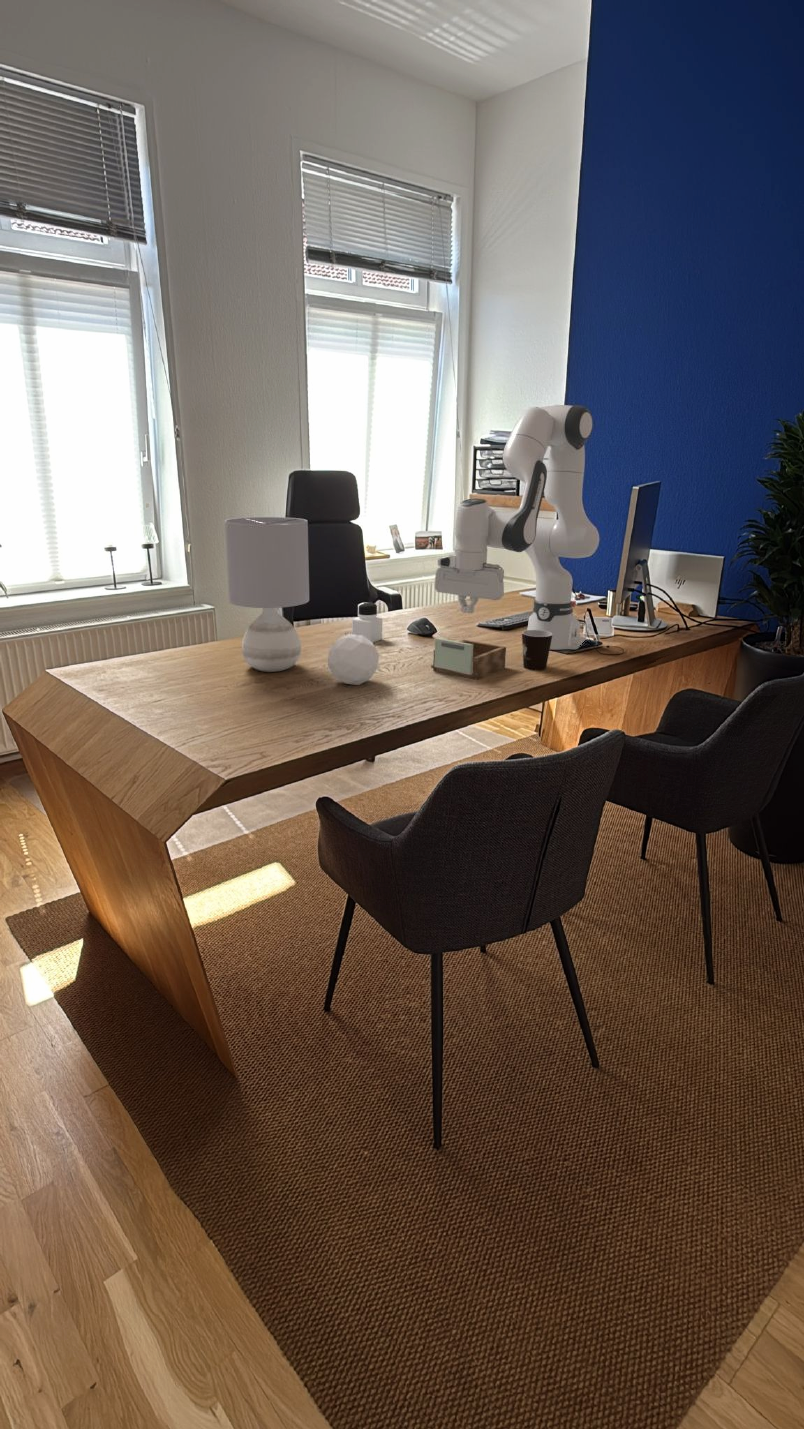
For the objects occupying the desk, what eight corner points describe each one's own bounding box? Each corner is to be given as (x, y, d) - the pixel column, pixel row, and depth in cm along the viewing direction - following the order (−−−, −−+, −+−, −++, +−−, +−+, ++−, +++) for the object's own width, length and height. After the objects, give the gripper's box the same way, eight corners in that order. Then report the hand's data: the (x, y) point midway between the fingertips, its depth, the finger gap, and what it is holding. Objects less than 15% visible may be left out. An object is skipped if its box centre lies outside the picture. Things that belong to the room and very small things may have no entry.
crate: (463, 659, 232) (464, 639, 230) (504, 667, 224) (506, 647, 223) (430, 671, 219) (431, 650, 217) (473, 680, 211) (474, 659, 209)
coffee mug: (549, 672, 220) (552, 637, 217) (518, 670, 222) (520, 635, 219) (550, 661, 231) (553, 628, 228) (521, 659, 233) (523, 626, 229)
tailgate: (436, 666, 218) (437, 637, 216) (472, 673, 212) (473, 644, 209) (433, 667, 217) (434, 638, 215) (469, 674, 211) (470, 645, 208)
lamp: (326, 667, 221) (324, 521, 208) (266, 683, 206) (259, 526, 193) (277, 654, 235) (272, 515, 222) (217, 667, 220) (207, 519, 206)
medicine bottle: (382, 639, 255) (382, 602, 251) (370, 643, 249) (370, 606, 245) (364, 636, 258) (364, 600, 254) (352, 640, 252) (351, 603, 248)
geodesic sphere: (310, 657, 210) (326, 622, 200) (353, 650, 218) (370, 616, 208) (333, 699, 204) (350, 665, 194) (376, 690, 212) (395, 658, 202)
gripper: (510, 564, 207) (506, 615, 212) (445, 557, 219) (443, 606, 223) (498, 566, 203) (494, 619, 207) (432, 558, 214) (430, 609, 218)
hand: (467, 612), depth 215 cm, fingers closed
